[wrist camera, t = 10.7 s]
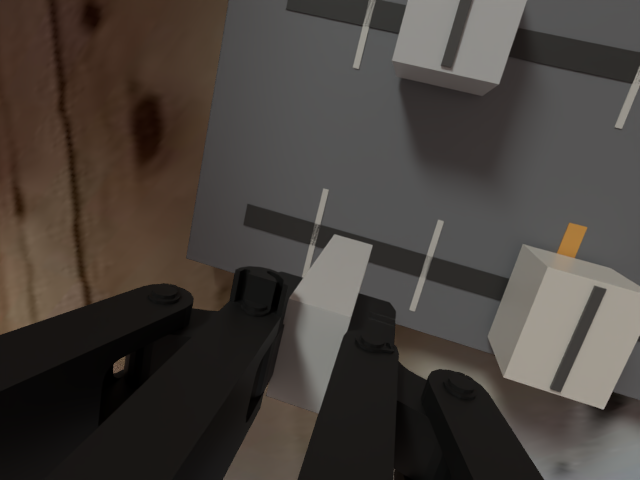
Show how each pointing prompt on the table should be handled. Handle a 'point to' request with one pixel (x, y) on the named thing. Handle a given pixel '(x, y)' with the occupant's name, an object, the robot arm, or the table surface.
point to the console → (423, 156)
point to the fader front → (457, 42)
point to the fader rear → (565, 326)
